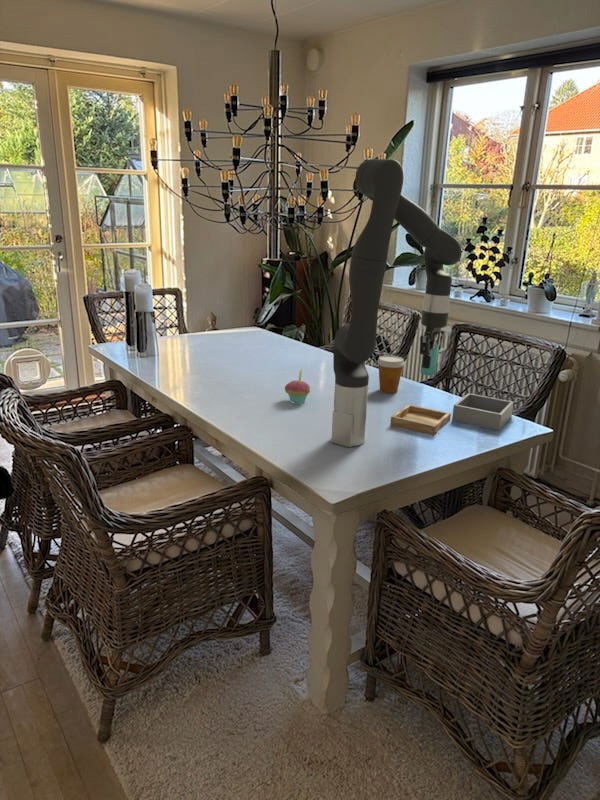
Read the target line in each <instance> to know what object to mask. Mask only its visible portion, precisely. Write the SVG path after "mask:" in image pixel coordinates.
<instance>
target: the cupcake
mask: <svg viewBox="0 0 600 800" xmlns="http://www.w3.org/2000/svg"><path fill="white" fill-rule="evenodd" d="M298 373H299V376H298V380H292V381H289V382H288V383H287V384H285V386H284V390H285V391H284V392H285V393H286V394H288V397H289V400H290V402H291V401H292V402H294V403H302V404H304V403H305V401H306V399H307V397H308V394H310V393H311V386H310V385H309V383H307V382H306V381H301V379H302V373H303V371H302V370H300V371H299V372H298ZM292 402H291V403H292ZM303 402H304V403H303ZM294 403H293V404H294Z"/></svg>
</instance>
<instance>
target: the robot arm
mask: <svg viewBox="0 0 600 800" xmlns="http://www.w3.org/2000/svg"><path fill="white" fill-rule="evenodd" d="M355 184H356V187H357V189H358V191H359V192H360V194H362V195H364V196H365V197H366V198H367V199H369V200H370V201H371V202H372V203H371V209H370V213H369V217H368V220H367V222H366V224H365V225H364V228H363V229H362V231H361V233H360V234H359V236H358V237H357V239H356V241H355V244H354V245H353V248H352V250H351V258H350V261H349V270H348V282H349V292H350V299H351V312H350V318H349V323H346V324H344V325H342V326H341V327H340V328H339V329H338V330H337V331H336V333H335V335H334V336H335V337H334V340H333V359H332V360H333V364H332V365H333V366H332V367H333V373H334V379H335V380H334V381H335V382H334V395H333V396H334V397H333V398H334V399H333V400H334V401H333V411H332V419H331V420H332V424H331V443H332V444H336V445H338V446H339V445H340V446H344V447H347V448H352V447H357V446H360V445H363V444H364V443H365V438H366V437H365V436H366V422H367V410H368V393H369V381H370V380H369V379H370V375H369V372H368V370H367V367H366V362H367V361H368V360H369V359H370V358H372V356H373V354H374V353H375V348H376V344H377V343H376V342H377V330H378V329H377V328H378V327H377V326H378V314H379V307H380V303H381V302H380V301H381V296H382V291H383V284H384V280H385V279H384V278H385V275H386V274H385V273H386V267H387V262H388V252H389V248H390V241H391V236H392V232H393V231H392V230H393V225H394V221H396V222H397V223H398V224H399V225H400V226H401V227H402V228H403V229H404V230H405V232H407V233H408V234H409V236H410V237H411V238H412V239H413V240H414V241H415V242H416V243H417V244H418V245H419V246H421V247H422V248H424V253H423V258H424V265H425V266H424V267H425V275H426V285H425V292H424V297H423V304H422V311H421V318H420V324H421V325H422V326H424V327H425V331H424V333H423V335H422V334H421V336H420V337H419V340H420V341H419V354H420V355H421V356H422V355H423V361H422V360H421V363H422V367H423V368H427V369H428V368H429V367H430V361H431V354H432V350H433V349H434V348H435V344H439V349H438V351H440V350H441V349H442V348H441V347H442V344H443V338H444V335H445V330H442V329H443V328H446V327H448V320H449V318H448V317H449V311H450V303H451V301H450V300H451V291H452V290H451V289H452V282H453V281H452V279H453V278H452V276H451V274H449V273H447V272H446V271H445V270H444V269H445V268H444V266H453V265H455V264H457V263H458V262H460V260H461V258H462V247H461V244H460V242H458V240H457V239H456V238H455V237H454V236H452V235H451V234H450V233H449V232H448V231H446V230H444V229H443V228H441V227H440V226H439V225H438V224H437V222H436V221H435V220H434V219H433V218H432V217H431V216H430V214H428V212H426V210H424V209H423V208H422V207H421V206H419V205H418V204H417V203H415V202H414V201H412V200H410V199H409V198H408V197H406V196H404V195H403V194H402V190H403V185H404V170H403V167H402V165H401V163H400V162H399V161H398V160H396V159H393V158H371V159H367V160H364V161H363V162H361V163H360V164H359V166H358V167H357V169H356V172H355ZM430 345H431V346H430ZM426 349H427V351H426Z"/></svg>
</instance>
